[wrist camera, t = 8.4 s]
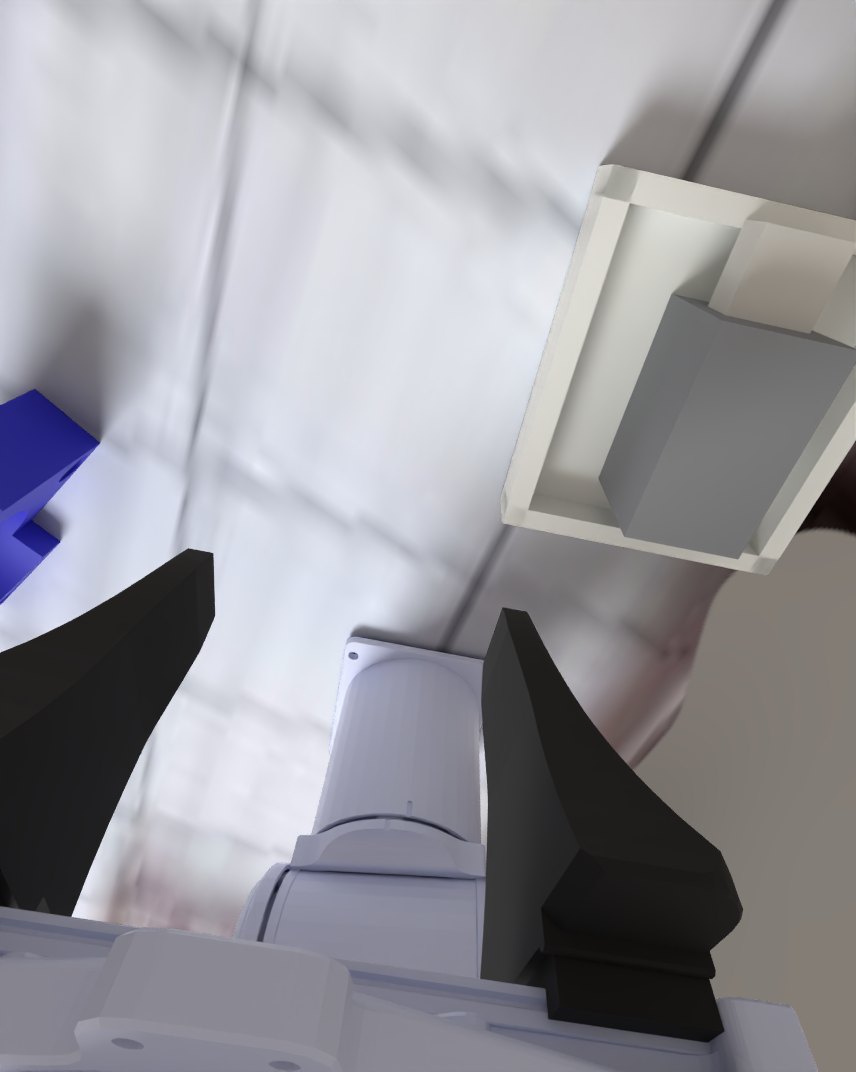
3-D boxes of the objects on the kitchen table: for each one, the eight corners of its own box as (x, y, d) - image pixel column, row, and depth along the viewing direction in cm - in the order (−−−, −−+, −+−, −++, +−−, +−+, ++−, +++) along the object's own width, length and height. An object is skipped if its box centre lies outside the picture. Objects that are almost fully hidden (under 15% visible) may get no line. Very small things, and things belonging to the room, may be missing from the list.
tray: (746, 548, 24) (767, 575, 23) (499, 499, 24) (502, 523, 22) (931, 243, 18) (979, 248, 16) (599, 165, 17) (613, 163, 16)
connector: (693, 497, 23) (738, 559, 19) (598, 478, 22) (623, 536, 19) (825, 240, 18) (921, 254, 14) (703, 212, 17) (767, 219, 14)
